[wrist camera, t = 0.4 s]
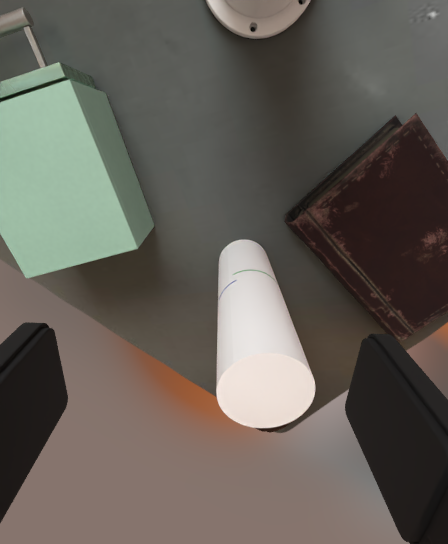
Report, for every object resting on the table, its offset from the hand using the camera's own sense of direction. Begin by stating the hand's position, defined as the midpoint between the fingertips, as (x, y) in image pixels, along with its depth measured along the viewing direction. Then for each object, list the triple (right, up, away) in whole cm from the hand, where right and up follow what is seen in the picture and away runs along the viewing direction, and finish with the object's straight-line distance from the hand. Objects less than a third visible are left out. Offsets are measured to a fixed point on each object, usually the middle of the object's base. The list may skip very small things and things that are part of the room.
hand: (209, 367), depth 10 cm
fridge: (-18, +15, +31) cm, 39 cm away
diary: (+24, +8, +34) cm, 43 cm away
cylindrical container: (+3, +4, +36) cm, 36 cm away
